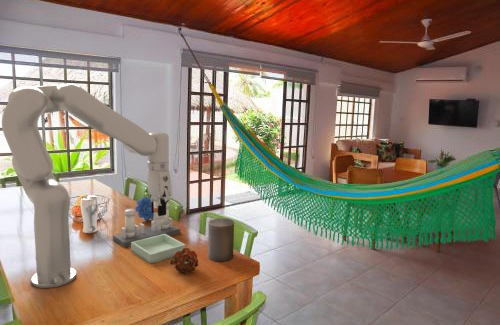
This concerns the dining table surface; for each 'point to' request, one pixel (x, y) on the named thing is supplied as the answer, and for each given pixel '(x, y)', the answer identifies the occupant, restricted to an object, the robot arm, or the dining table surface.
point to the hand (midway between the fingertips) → (158, 213)
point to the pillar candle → (221, 239)
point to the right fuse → (166, 219)
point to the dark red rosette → (185, 260)
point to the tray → (156, 248)
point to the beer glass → (89, 213)
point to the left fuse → (130, 223)
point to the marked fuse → (157, 219)
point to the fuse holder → (145, 233)
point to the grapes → (145, 208)
